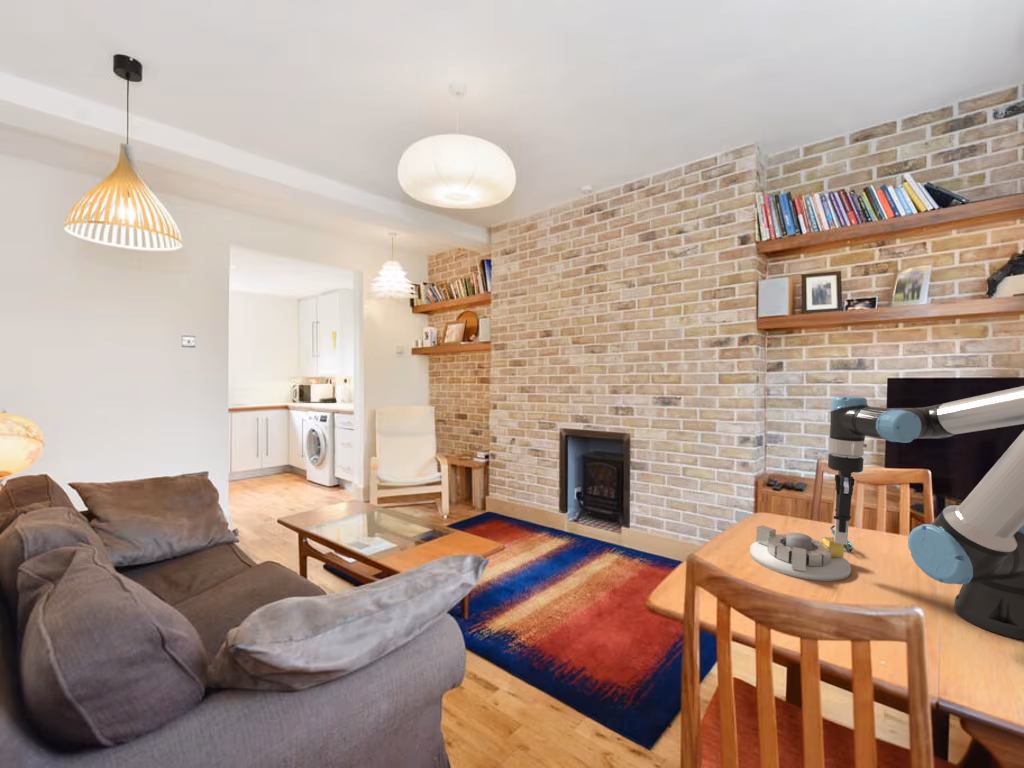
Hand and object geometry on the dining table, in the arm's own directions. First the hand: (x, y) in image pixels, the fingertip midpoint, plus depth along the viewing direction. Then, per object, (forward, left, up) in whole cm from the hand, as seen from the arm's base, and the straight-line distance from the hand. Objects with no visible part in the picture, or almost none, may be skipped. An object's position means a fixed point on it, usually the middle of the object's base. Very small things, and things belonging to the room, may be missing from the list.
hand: (840, 542), depth 124 cm
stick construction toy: (+18, -11, -8) cm, 22 cm away
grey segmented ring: (+7, +5, -6) cm, 10 cm away
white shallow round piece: (+7, +7, -8) cm, 13 cm away
